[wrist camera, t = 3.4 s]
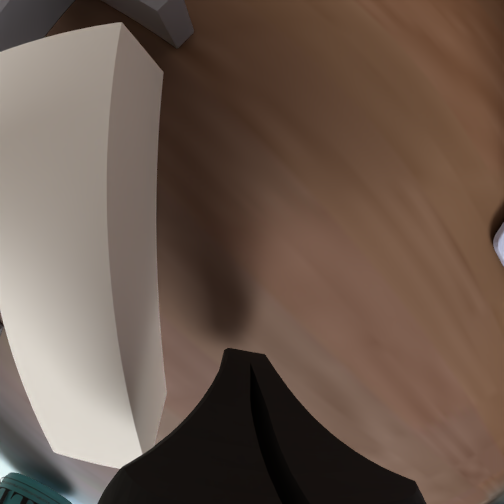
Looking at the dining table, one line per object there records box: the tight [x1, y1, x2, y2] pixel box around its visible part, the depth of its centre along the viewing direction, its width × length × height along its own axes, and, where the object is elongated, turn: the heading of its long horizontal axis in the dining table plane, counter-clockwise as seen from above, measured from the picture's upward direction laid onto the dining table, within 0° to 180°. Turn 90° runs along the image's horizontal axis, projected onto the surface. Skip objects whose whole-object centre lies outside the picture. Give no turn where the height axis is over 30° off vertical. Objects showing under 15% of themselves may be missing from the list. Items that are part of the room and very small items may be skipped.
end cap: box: [0, 0, 194, 52], centre depth 7 cm, size 6×4×3 cm
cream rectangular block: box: [0, 22, 167, 469], centre depth 8 cm, size 4×12×4 cm, turn 177°
